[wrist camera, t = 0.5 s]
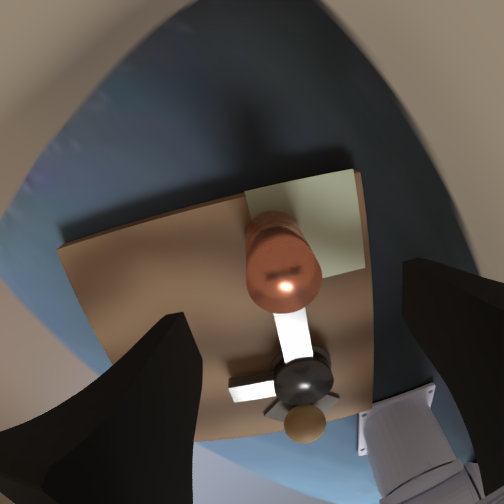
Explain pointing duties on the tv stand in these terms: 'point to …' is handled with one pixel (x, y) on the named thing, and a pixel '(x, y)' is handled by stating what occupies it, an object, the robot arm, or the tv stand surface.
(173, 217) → the light wood flat board
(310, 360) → the lever
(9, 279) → the tv stand surface
